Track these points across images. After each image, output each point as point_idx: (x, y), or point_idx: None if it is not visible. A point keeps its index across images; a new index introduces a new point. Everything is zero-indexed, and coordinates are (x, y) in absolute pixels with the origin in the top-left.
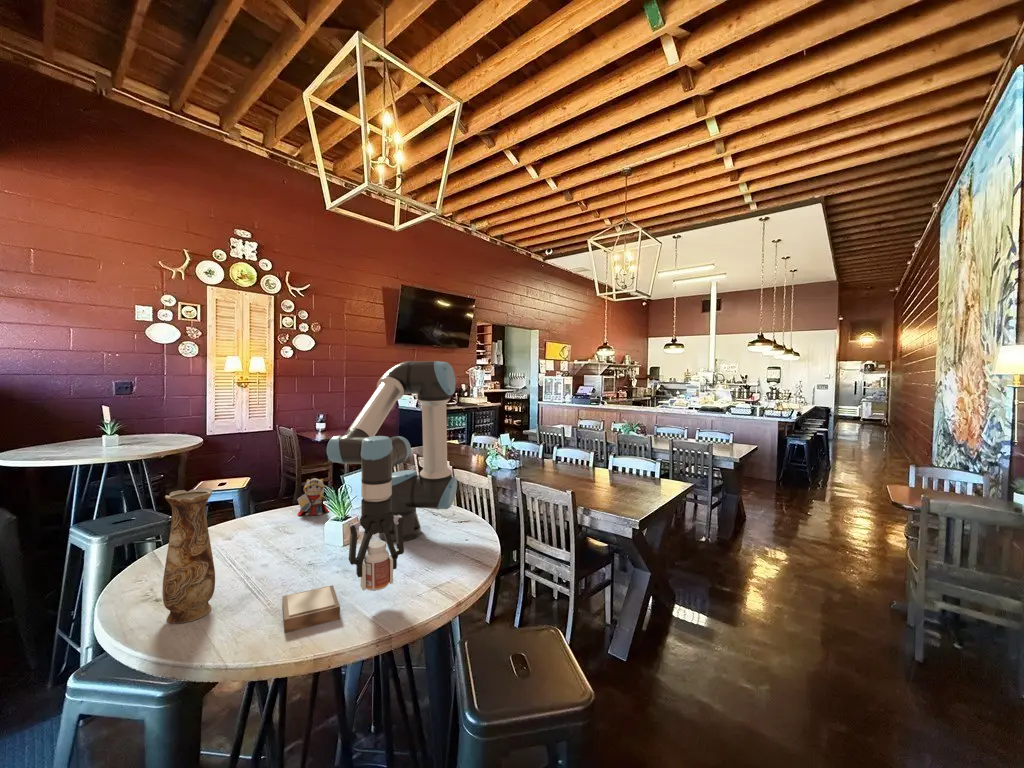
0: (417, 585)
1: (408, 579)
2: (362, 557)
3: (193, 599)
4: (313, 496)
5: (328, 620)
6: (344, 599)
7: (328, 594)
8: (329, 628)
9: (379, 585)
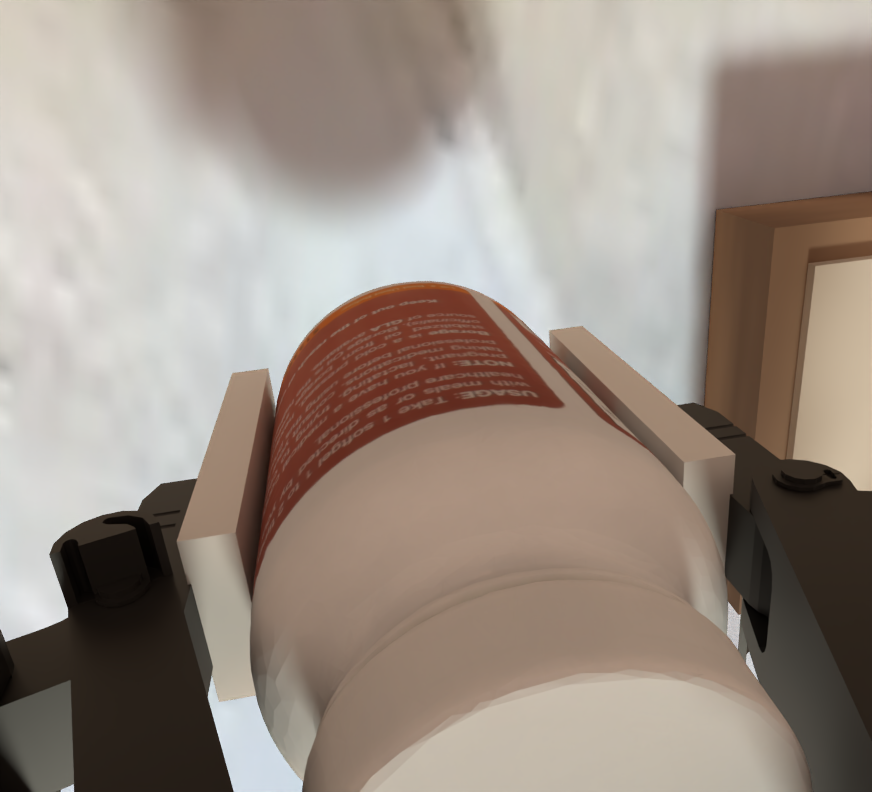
0: (5, 536)
1: None
2: (830, 542)
3: None
4: None
5: (807, 201)
6: None
7: None
8: (818, 85)
9: (411, 288)
